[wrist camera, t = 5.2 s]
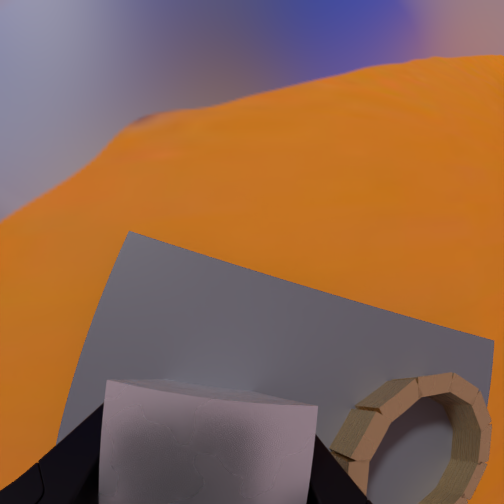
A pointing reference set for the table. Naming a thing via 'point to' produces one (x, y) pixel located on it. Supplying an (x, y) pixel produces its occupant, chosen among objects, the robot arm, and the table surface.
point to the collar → (397, 402)
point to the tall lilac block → (203, 445)
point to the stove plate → (274, 352)
